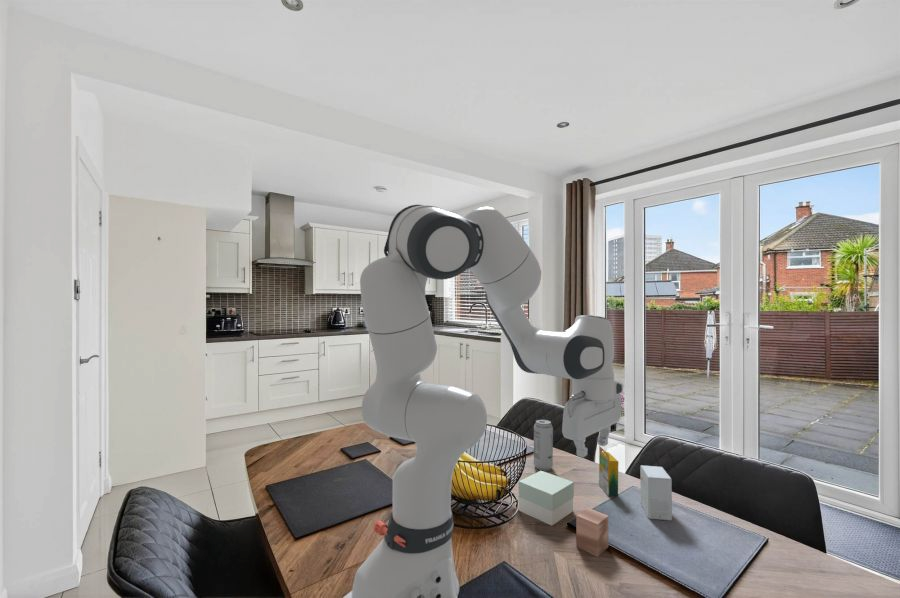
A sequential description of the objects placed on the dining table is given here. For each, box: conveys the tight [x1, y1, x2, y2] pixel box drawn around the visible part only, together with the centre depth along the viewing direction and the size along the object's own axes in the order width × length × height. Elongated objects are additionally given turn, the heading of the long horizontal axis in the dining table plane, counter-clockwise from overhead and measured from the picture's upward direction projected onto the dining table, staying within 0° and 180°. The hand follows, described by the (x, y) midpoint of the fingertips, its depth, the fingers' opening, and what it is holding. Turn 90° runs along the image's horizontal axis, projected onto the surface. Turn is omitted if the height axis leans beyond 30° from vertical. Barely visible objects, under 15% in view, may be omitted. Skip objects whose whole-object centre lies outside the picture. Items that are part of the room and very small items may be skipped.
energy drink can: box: [533, 419, 554, 472], centre depth 135 cm, size 6×6×15 cm
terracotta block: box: [575, 507, 609, 558], centre depth 92 cm, size 5×5×7 cm
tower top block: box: [518, 470, 575, 511], centre depth 108 cm, size 10×10×4 cm
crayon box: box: [598, 445, 619, 497], centre depth 120 cm, size 7×3×12 cm, turn 0°
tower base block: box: [517, 496, 574, 526], centre depth 108 cm, size 10×10×4 cm
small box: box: [639, 465, 673, 521], centre depth 107 cm, size 8×6×10 cm
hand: (592, 450), depth 92 cm, fingers open, 8 cm apart
